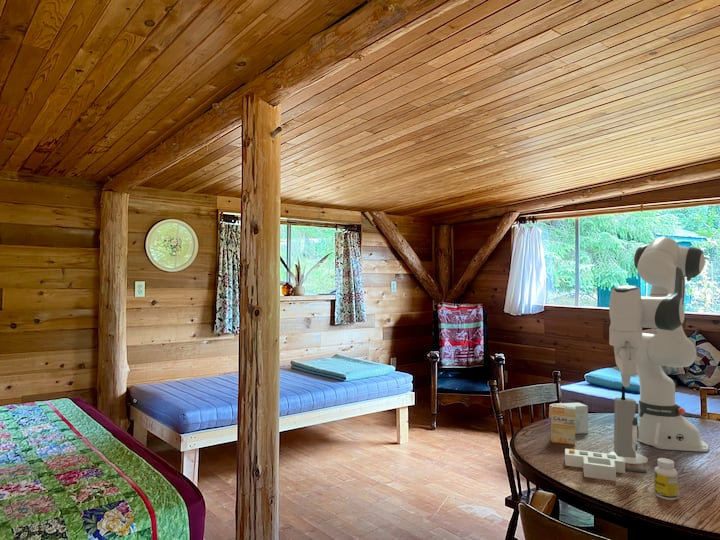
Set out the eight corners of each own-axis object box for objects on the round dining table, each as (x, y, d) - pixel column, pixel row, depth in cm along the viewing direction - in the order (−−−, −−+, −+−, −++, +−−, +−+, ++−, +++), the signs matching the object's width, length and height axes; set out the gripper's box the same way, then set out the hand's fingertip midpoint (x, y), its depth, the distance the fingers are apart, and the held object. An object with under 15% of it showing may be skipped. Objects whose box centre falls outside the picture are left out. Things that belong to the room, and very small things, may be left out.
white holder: (651, 466, 161) (651, 419, 161) (611, 462, 165) (611, 415, 165) (644, 454, 172) (644, 409, 172) (607, 450, 176) (607, 406, 176)
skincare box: (579, 428, 201) (579, 401, 201) (588, 433, 195) (588, 406, 195) (554, 429, 200) (554, 402, 200) (563, 434, 193) (563, 406, 193)
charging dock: (644, 469, 159) (644, 455, 159) (651, 486, 146) (651, 471, 146) (565, 459, 167) (565, 446, 167) (565, 474, 154) (565, 460, 154)
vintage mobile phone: (635, 458, 150) (636, 373, 150) (617, 456, 151) (618, 372, 151) (631, 453, 154) (632, 371, 154) (613, 452, 155) (614, 370, 155)
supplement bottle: (650, 492, 142) (650, 457, 142) (668, 491, 142) (668, 456, 142) (663, 501, 136) (663, 464, 136) (682, 500, 137) (682, 463, 137)
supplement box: (550, 442, 184) (550, 406, 184) (551, 438, 188) (551, 403, 188) (575, 445, 180) (575, 408, 181) (575, 441, 185) (575, 405, 185)
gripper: (642, 344, 141) (642, 394, 141) (633, 336, 160) (633, 380, 160) (617, 343, 144) (617, 392, 144) (610, 335, 163) (611, 378, 163)
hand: (625, 386), depth 152 cm, fingers closed on vintage mobile phone
